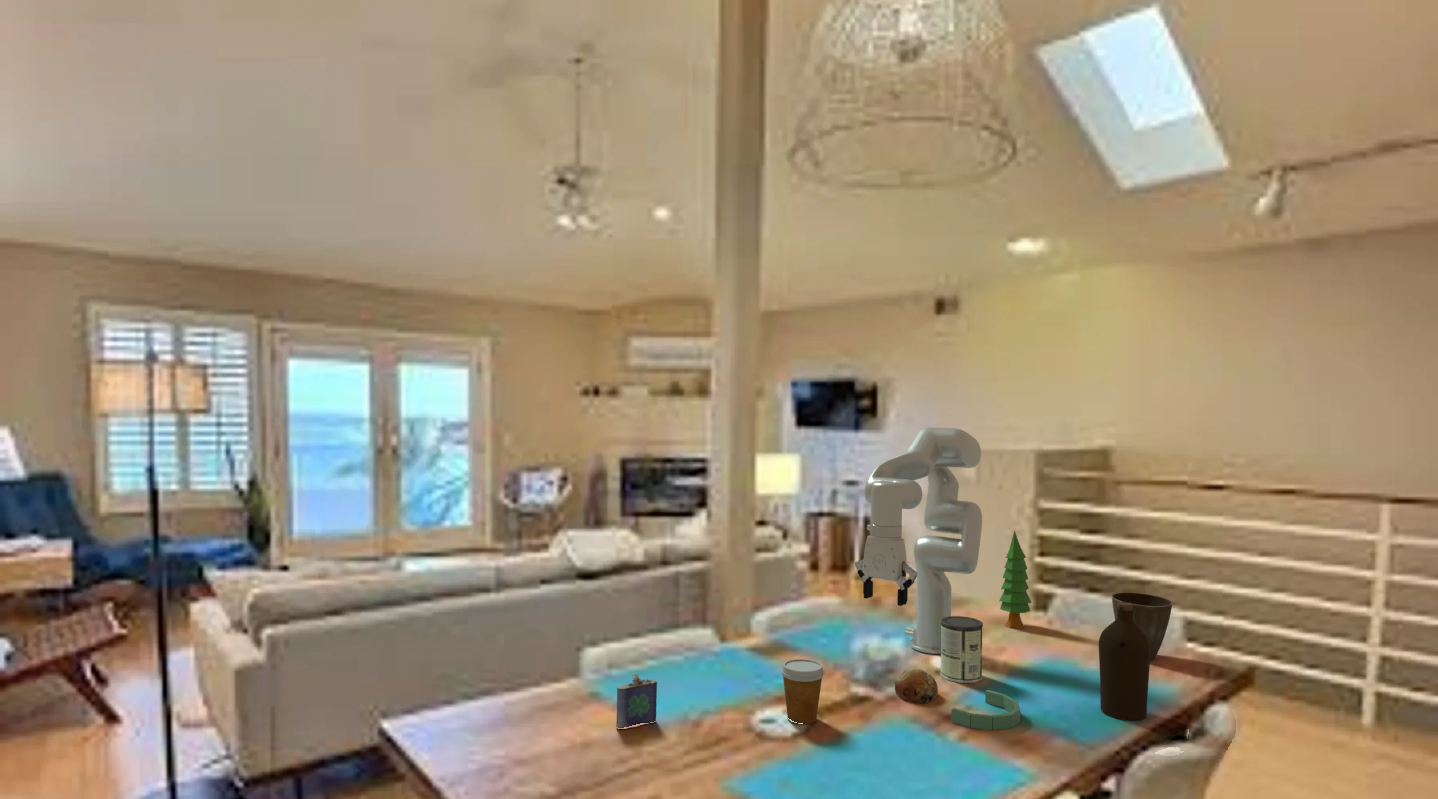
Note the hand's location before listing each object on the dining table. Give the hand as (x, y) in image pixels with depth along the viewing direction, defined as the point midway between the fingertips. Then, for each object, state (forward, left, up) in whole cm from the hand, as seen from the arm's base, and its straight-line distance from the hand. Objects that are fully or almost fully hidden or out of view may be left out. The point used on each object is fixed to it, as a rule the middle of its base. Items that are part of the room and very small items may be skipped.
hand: (884, 601), depth 203 cm
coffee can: (+10, +20, -21) cm, 30 cm away
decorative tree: (-1, +75, -21) cm, 78 cm away
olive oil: (+48, +24, -21) cm, 58 cm away
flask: (-24, -59, -21) cm, 67 cm away
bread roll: (+9, -1, -21) cm, 23 cm away
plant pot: (+37, +71, -21) cm, 83 cm away
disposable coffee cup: (-1, -31, -21) cm, 38 cm away
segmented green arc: (+28, 0, -21) cm, 35 cm away
